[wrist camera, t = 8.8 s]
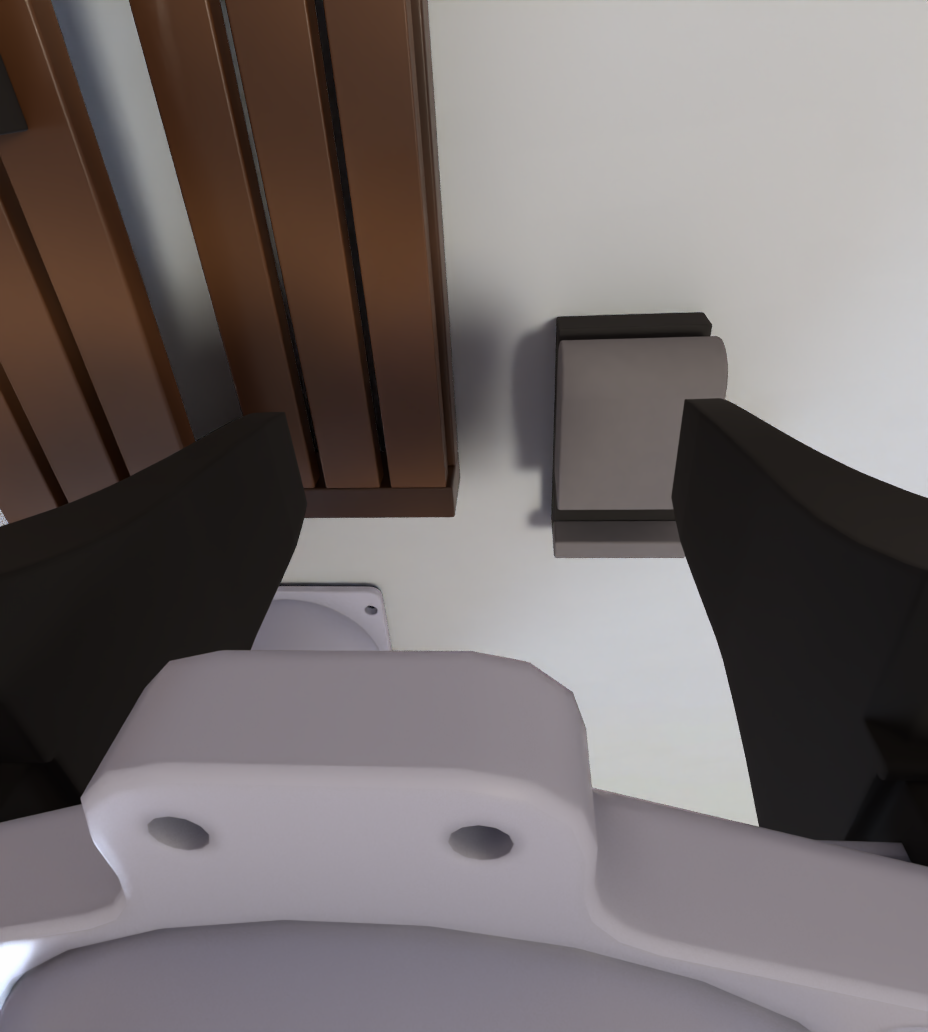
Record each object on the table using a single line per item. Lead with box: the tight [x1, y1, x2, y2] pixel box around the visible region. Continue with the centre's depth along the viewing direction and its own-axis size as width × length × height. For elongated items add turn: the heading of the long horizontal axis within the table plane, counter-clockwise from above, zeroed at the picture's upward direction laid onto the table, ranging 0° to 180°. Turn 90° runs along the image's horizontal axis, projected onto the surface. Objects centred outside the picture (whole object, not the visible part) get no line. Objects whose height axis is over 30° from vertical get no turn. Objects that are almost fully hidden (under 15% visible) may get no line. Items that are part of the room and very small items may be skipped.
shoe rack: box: [0, 0, 460, 524], centre depth 16 cm, size 22×13×6 cm, turn 3°
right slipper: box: [551, 313, 728, 558], centre depth 21 cm, size 8×4×3 cm, turn 3°
